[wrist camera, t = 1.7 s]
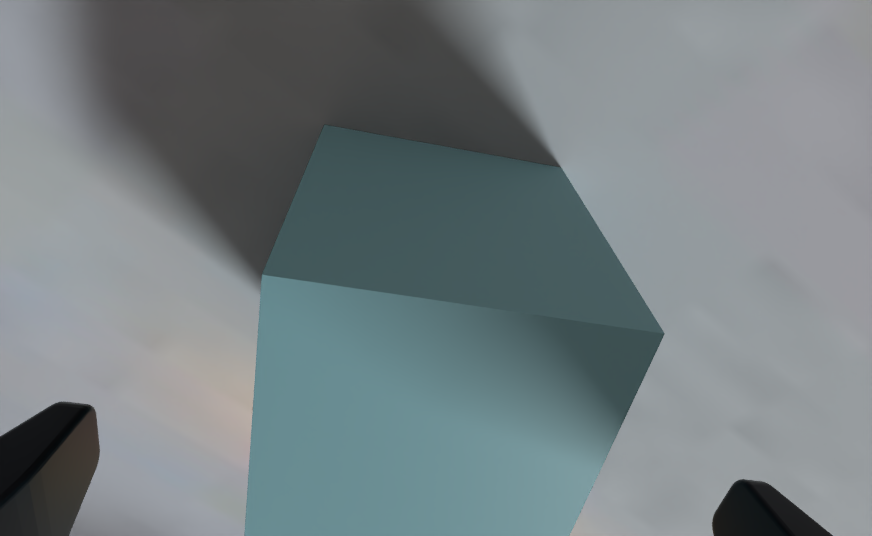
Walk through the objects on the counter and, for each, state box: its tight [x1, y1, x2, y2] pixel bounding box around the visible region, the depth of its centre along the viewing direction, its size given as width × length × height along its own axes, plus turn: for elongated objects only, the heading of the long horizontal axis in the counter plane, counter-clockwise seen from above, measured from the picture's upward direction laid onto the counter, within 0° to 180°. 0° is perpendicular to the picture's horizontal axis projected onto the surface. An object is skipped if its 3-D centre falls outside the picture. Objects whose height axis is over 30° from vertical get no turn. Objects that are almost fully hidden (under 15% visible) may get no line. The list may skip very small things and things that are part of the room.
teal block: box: [244, 125, 664, 536], centre depth 11 cm, size 5×5×6 cm
